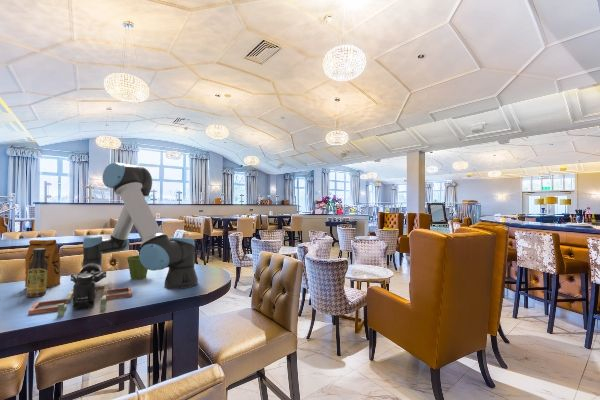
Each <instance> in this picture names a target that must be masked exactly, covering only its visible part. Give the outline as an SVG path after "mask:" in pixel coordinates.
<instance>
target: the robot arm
mask: <svg viewBox="0 0 600 400" xmlns="http://www.w3.org/2000/svg"><path fill="white" fill-rule="evenodd" d="M152 178H153V177H152V175H151V173H150V171H149V170H148V169H147V168H145V167H144V166H140V165H134V164H127V163H124V162H111V163H109V164H108V165H107V166H106V167H105V168H104V170H103V173H102V182H103V184H104V186H105V187H107V188H109V189H112V190H113V192H114V194H115V195H116V196H117V197H121V200H122V202H123V207H122V210H121V211H120V214H119V217H118V219H117V221H116V223H115V226H114V228H113V230H112V233H111V235H110V237H109V238H103V237H102V236H101V235H90V236H86V237H84V238H83V243H82V249H83V250H82V254H83V256H82V257H83V258H82V268H81V270H80V271H79V273H78V274H71V275H70V281H71V282H73V283H74V284H75V283H77V276H78V275H81V274H92V275H93V280H92V281H94V282H95V284H96V283H98V282H100V281H101V280H103V279H106V278H107V271H102V270H103V255H105V254H112V253H120V252H123V251H126V250H127V249H129V247H130V240H129V238H128V237H129V235H130V234H131V232H132V231H131V230H132V228H133V226H134V227H135V229H136V231H137V234H138V235H139V238H140V240H141V243H140V245H139V246H140V248H141V249H140V250H139V255H140V256H139V259H140V262H141V264H142V265H143V266H144V267H145V268H146V269H148V270H149V271H162V270H165V269H166V268H168V271H167V273H166V277H165V279H164V288H167V289H174V290H179V289H186V288H192V287H195V286H197V285H198V283H199V279H198V275H197V272H196V269H195V249H196V248H195V247H196V245H195V238H192V237H177V236H176V237H175V236H174V237H172V236H171V237H169V236H168V234H167V233H163V232H162V230H161V229H160V227H159V224H158V223H157V220H156V218H155V216H154V214H153V212H152V210H151V208H150V206H149V204H148V202H147V199H146V198H147V197H149V195H150V193H151V191H152V188H153V179H152Z"/></svg>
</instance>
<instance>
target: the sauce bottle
mask: <svg viewBox="0 0 600 400" xmlns="http://www.w3.org/2000/svg"><path fill="white" fill-rule="evenodd" d="M45 252H46V249H45V248H38V249H33V253H34V254H33V260H32V262H31V263H30V265H29V270H28V280H27V287H26V297H28V298H36V297H37V298H38V297H41V296H44V295H45V294H46V291H47V287H46V285H47V271H48V270H47V267H48V264H47V262H46V261H45Z"/></svg>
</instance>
